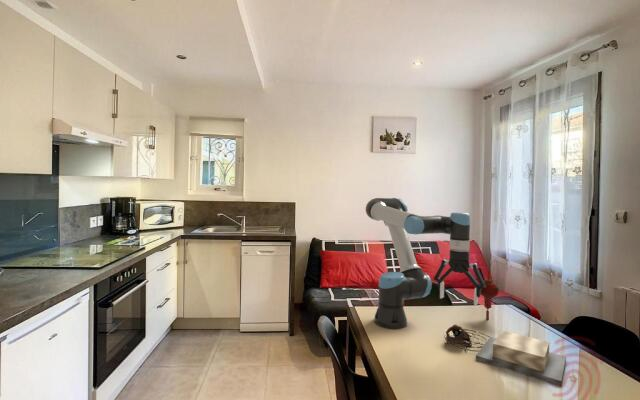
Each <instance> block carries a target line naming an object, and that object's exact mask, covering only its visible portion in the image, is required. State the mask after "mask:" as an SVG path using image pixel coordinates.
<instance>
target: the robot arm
mask: <svg viewBox="0 0 640 400" xmlns="http://www.w3.org/2000/svg"><path fill="white" fill-rule="evenodd" d="M365 213H366V215H367V217H369V218H370V219H371V220H374V221H382V222H383V224H384V226H386V227H388V230H389V231H388V232H389V234H390V236H391V240H392V244H393V248H394V251H395V254H396V257H397V261H398V262H397V263H398V264H399V268H400V270H399V271H388V272H384V273H382V274H381V275H380V276H379V280H378V306H377V308H376V311H375V315H374V324H376V325H377V326H379V327H382V328H386V329H403V328H405V327H407V325H408V319H407V315H406V312H405V308H404V305H405V304H404V303H405V302H404V301H405V300H406V301H407V300H414V299H421V298H425V297H427V296H428V295H430V294H431V290H432V287H433V286H432V279H431V277H430V275H428V274H427V273H426V272H424V271H423V269H422V267H421V266H419V265H418V262H417V260H416V257H415V253H414V249H413V247H412V244H411V239H410V237H409V235H425V234H444V235H446V234H447V235H449V249H450V250H449V260H447V259H446V258H444V259H441V263H440V266H439V268H438V269H437V272H436V273H435V275H434V277H433V281H436V282H437V289H438V291H439V299H441V300H442V299H443V298H445V281H444V280H445V279H446V278H448V276H449V275H450V274H452V272H453V273H459V274H465V276H466V277H467V278H468V280H469V281H470V282H471V283H472V285H473V286H474V290H473V306H477V305H478V303H479V298H480V297H481V296H482V295H481V289H484V288H485V287H486V285H485V283H484V279H483V277H482V274H481V273H480V270H479V268H478V267H479V266H478V263H477V262H475V263H471V262H470V251H469V250H470V241H471V239H470V235H471V231H470V230H471V217H470V216H471V215H470V214H469V213H468V212H451V213H450V216H444V215H432V216H431V215H430V216H429V215H427V216H426V215H425V216H423V215H422V216H421V215H418V214H415V213H410V212H408V206H407V204H406V202H405V200H403V199H401V198H396V197H389V198H386V197H376V198H373V199H370V200H369V201H368V202H367V204H366V206H365ZM447 265H448V266H449V269H447V271H446V272H445V273H443V271H444V269H445V268H446V266H447ZM469 268H471V269H472V270H473V273H474V275H475V276H474V275H473V273H471V271H470V269H469ZM442 273H443V274H442ZM441 274H442V275H441Z"/></svg>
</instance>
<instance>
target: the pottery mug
mask: <svg viewBox="0 0 640 400" xmlns="http://www.w3.org/2000/svg"><path fill="white" fill-rule="evenodd" d="M450 332H451V333H453V336H452V335H451V336H450V335H449V334H450ZM445 339H446V340H445V341H446V344H460V343H461V344H464V342H467V343H469V345H470V347H473V343H472V340H471V337H470V334H469V332H468V331H467V330H466V329H465V328H463V327H462V326H460V325H457V324H453V325H452V326H450V327H448V329H447V330H446V335H445Z"/></svg>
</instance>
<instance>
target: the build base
mask: <svg viewBox="0 0 640 400" xmlns="http://www.w3.org/2000/svg"><path fill="white" fill-rule="evenodd" d="M476 359H477V360H476ZM475 360H476V361H479V360H481V361H480V362H483V361H484V362H483V363H486V364H490V365H493V366H497V367H499V368H503V369H506V370H508V371H509V370H510V371H512V372H515V373H519V374H521V375H526V376H529V377H532V378H535V379H539V380H542V381H544V382H548V383H552V384H554V385H559V386H562V383H563V378H564V373H565V367H566V362H567V361H566V360H567V357H566V356H564V355H562V354H561V355H560V354H556V353H553V352H550V341H546V340H543V339H538V338H534V337H530V336H527V335H522V334H517V333H513V332H511V331H510V332H509V331H506V330H502V331H500V333H499V334H498V336H497V337H496V338H495V337H492V336H489V337H488V339H487V341H486V342H485V343H484V344H483V345H482V347H481V348H480V349H479V351H478V352H477V354H476V355H475Z"/></svg>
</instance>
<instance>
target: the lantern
mask: <svg viewBox="0 0 640 400" xmlns="http://www.w3.org/2000/svg"><path fill="white" fill-rule="evenodd" d="M483 281H484V283H485V285H486V287H485V288H484V289H481V296H482V297H483V298H484V300H483V301H484V303H483V306H484V308H485V309H486V310H485V320H487V321H490V317H489V316H490V310H489V309H491V308H492V300H493V298H496V297H497V296H498V295H499V291H500V290H499V286H498V284H497V283H496V282H494V281H493V279H491V278H490V272H488V277H487V278H485V279H483Z"/></svg>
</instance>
